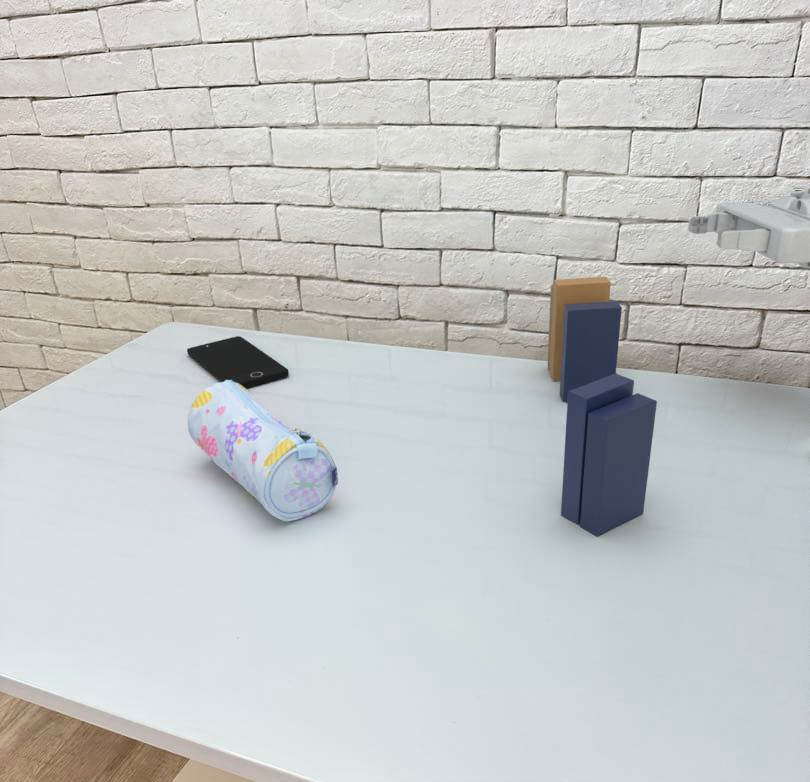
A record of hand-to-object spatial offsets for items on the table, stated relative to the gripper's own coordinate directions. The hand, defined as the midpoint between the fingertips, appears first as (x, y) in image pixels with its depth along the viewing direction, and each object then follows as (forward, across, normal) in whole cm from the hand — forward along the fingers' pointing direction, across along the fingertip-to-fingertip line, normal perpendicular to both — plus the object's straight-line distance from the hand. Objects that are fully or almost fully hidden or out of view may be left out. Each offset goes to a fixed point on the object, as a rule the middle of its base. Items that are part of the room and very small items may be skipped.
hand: (704, 232), depth 98 cm
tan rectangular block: (+11, +11, -20) cm, 25 cm away
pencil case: (+52, -14, -23) cm, 58 cm away
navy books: (+16, -25, -23) cm, 37 cm away
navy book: (+11, +3, -20) cm, 24 cm away
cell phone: (+59, +22, -20) cm, 66 cm away
